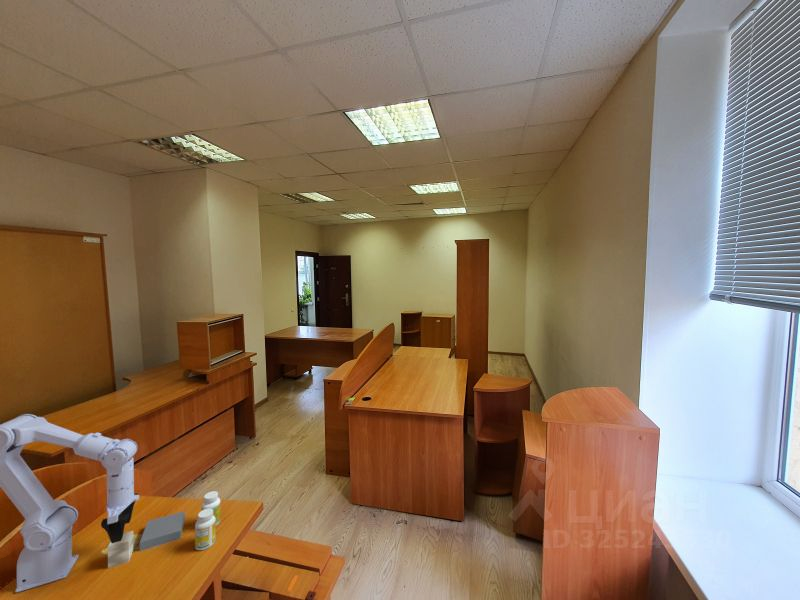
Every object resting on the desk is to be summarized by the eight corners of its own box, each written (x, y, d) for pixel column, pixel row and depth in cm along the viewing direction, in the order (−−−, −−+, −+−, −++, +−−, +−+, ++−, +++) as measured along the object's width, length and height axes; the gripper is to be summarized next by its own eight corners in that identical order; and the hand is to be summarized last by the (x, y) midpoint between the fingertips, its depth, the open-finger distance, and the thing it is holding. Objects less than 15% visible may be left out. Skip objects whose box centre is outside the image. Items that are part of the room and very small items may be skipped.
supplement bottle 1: (211, 530, 100) (211, 501, 100) (197, 528, 101) (197, 498, 101) (224, 519, 105) (224, 490, 105) (210, 516, 106) (210, 488, 106)
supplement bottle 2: (201, 553, 91) (201, 521, 91) (191, 546, 93) (191, 515, 93) (219, 540, 96) (219, 510, 96) (209, 534, 98) (209, 504, 98)
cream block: (107, 568, 86) (107, 547, 86) (113, 556, 90) (113, 536, 90) (128, 561, 88) (128, 541, 88) (133, 550, 92) (133, 530, 92)
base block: (139, 552, 92) (139, 542, 92) (147, 530, 100) (147, 521, 100) (180, 540, 96) (180, 530, 96) (184, 519, 105) (184, 510, 105)
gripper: (131, 495, 84) (131, 544, 84) (144, 469, 97) (145, 511, 97) (96, 503, 81) (97, 554, 81) (115, 475, 94) (115, 519, 94)
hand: (121, 532), depth 89 cm, fingers open, 7 cm apart
